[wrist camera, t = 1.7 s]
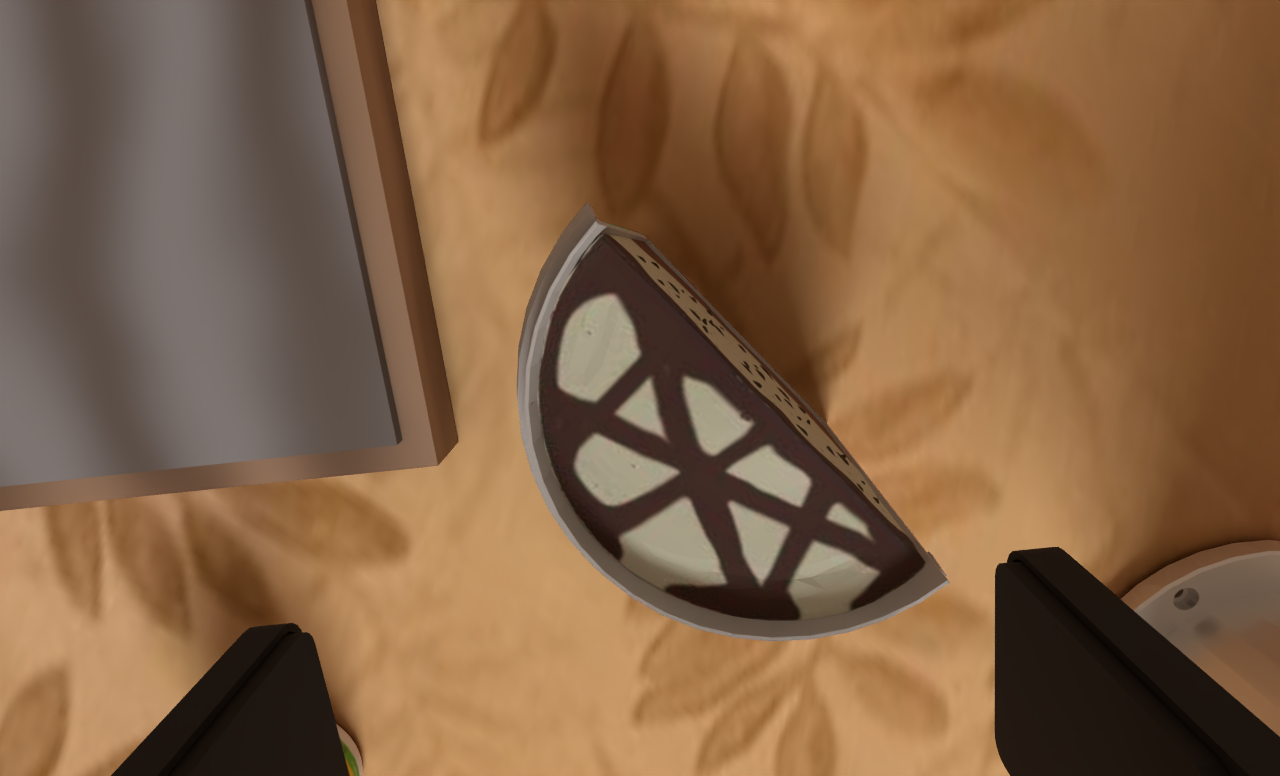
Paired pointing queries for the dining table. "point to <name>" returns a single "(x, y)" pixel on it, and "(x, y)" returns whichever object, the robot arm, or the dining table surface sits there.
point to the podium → (206, 252)
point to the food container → (697, 456)
